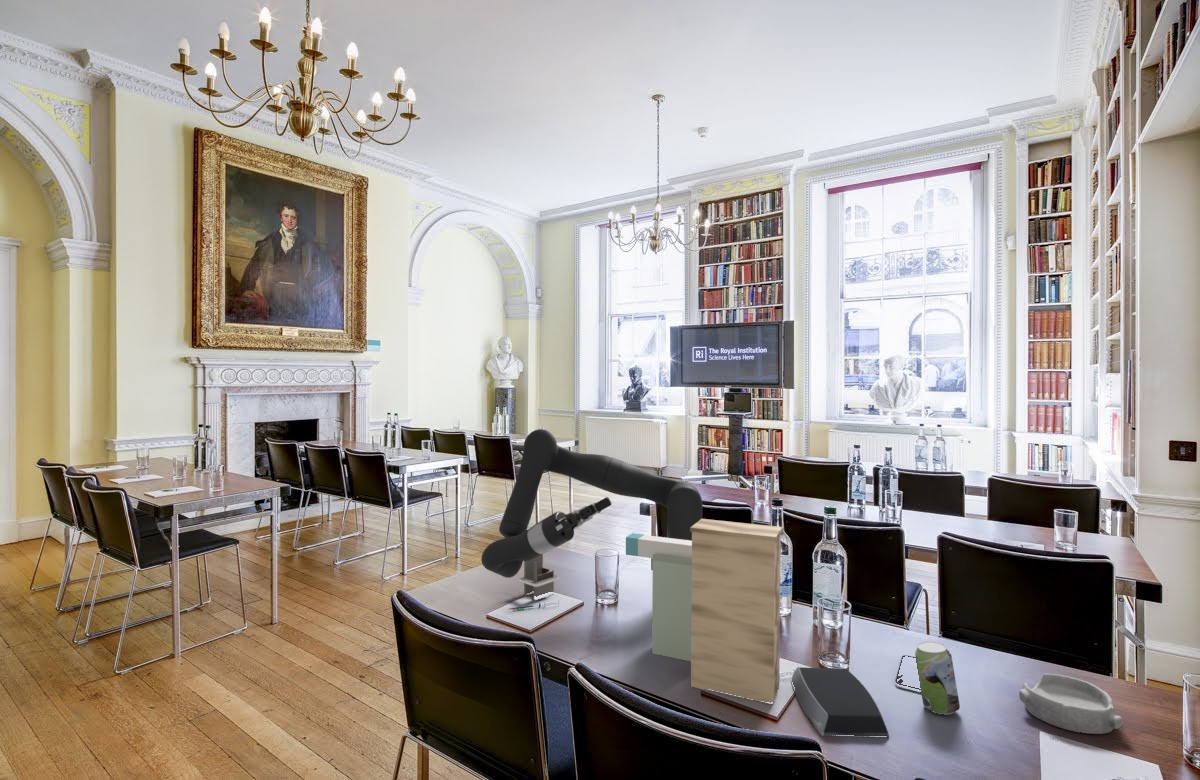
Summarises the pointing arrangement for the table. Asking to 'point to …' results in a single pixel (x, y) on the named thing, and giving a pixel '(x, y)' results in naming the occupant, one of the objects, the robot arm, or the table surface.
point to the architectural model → (537, 577)
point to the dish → (1071, 704)
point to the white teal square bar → (657, 546)
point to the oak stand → (736, 608)
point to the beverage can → (937, 678)
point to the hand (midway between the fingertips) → (602, 504)
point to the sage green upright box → (672, 606)
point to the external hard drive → (837, 702)
